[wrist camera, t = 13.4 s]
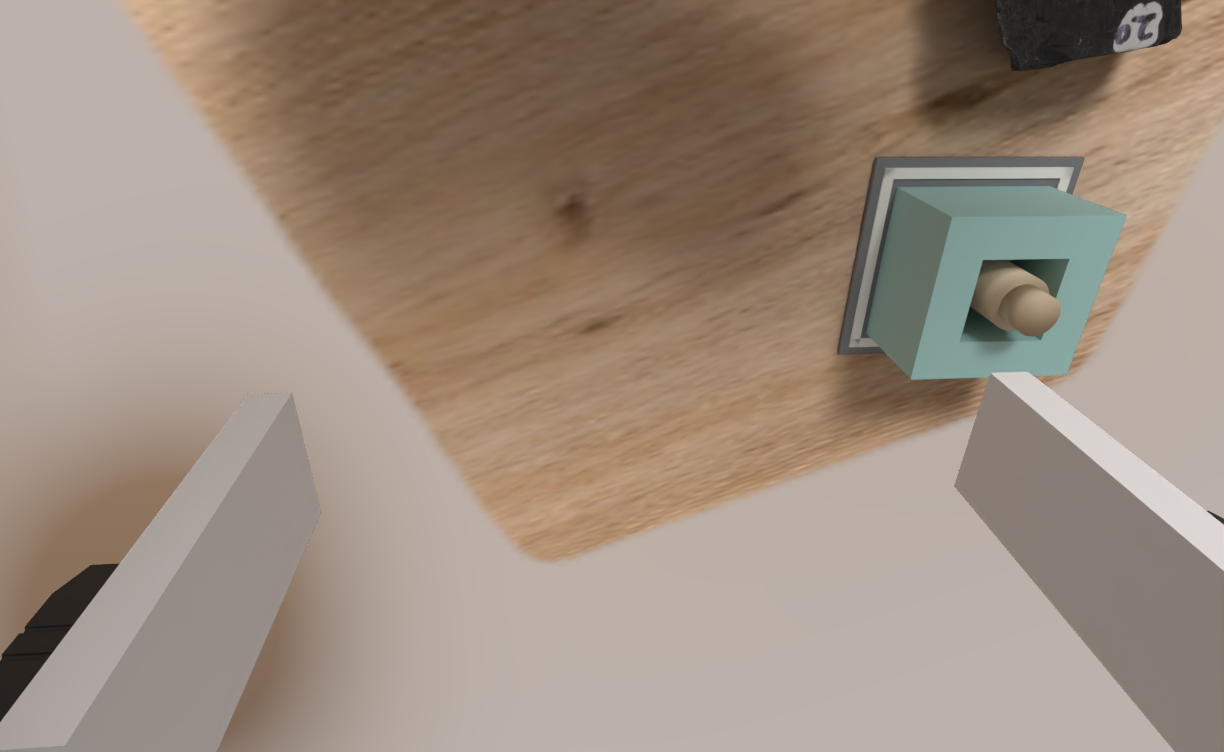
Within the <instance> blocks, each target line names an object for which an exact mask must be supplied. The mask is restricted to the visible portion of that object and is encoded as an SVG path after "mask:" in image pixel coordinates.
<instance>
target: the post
mask: <svg viewBox="0 0 1224 752" xmlns="http://www.w3.org/2000/svg"><path fill="white" fill-rule="evenodd" d="M970 307H972V308H973V309H974V310H976V311H977V312H978V313H980V314H981V315H982V316H984V317H985V318H987V319H988V320H989V321H991V322H992V323H993V324H995V325H996V326H997V327H999V328H1001V329H1003V330H1006V331H1016V330H1017V331H1019V332H1020V333H1021V334H1023V335H1025V336H1038V335H1041V334H1043V333H1045V332H1047V331H1048V330H1049V329H1051V328H1052V327H1053V326H1054V325H1055V323H1056V322H1057V320H1058V319H1059V316H1060V313H1061V306H1060V303H1059V301H1058V300H1057V299H1056V298H1054V297H1053V296H1051V295H1049V289H1048V286H1047V285H1046V283H1045V282H1044V281H1042V280H1041V279H1039V278H1037V277H1035V276H1034V275H1032V274H1030V273H1029V272H1027V271H1025V270H1023V269H1022V268H1020V267H1018V266H1016V265H1015V264H1013V263H1011V262H1009V261H1008V260H983V262H982V266H981V269H980V273H979V276H978V279H977V283H976V286H975V290H974V293H973V297H972V300H971V304H970Z"/></svg>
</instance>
